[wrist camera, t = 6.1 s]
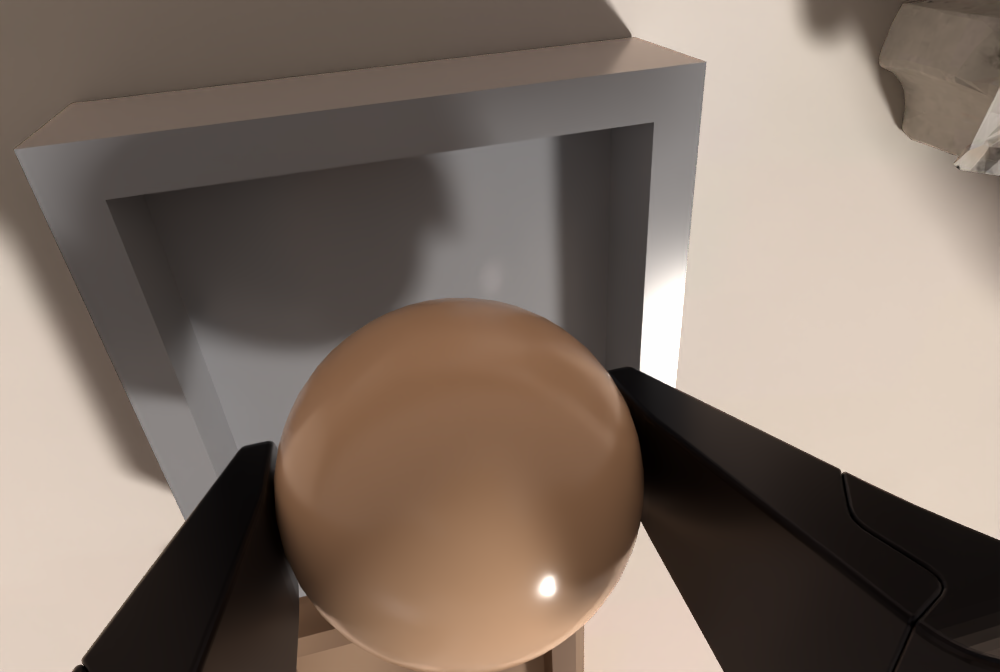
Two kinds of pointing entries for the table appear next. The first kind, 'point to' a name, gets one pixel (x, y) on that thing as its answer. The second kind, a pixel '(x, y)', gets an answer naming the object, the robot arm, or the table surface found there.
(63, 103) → the table surface
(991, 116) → the egg carton
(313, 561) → the egg brown
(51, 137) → the dish
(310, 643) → the rack
